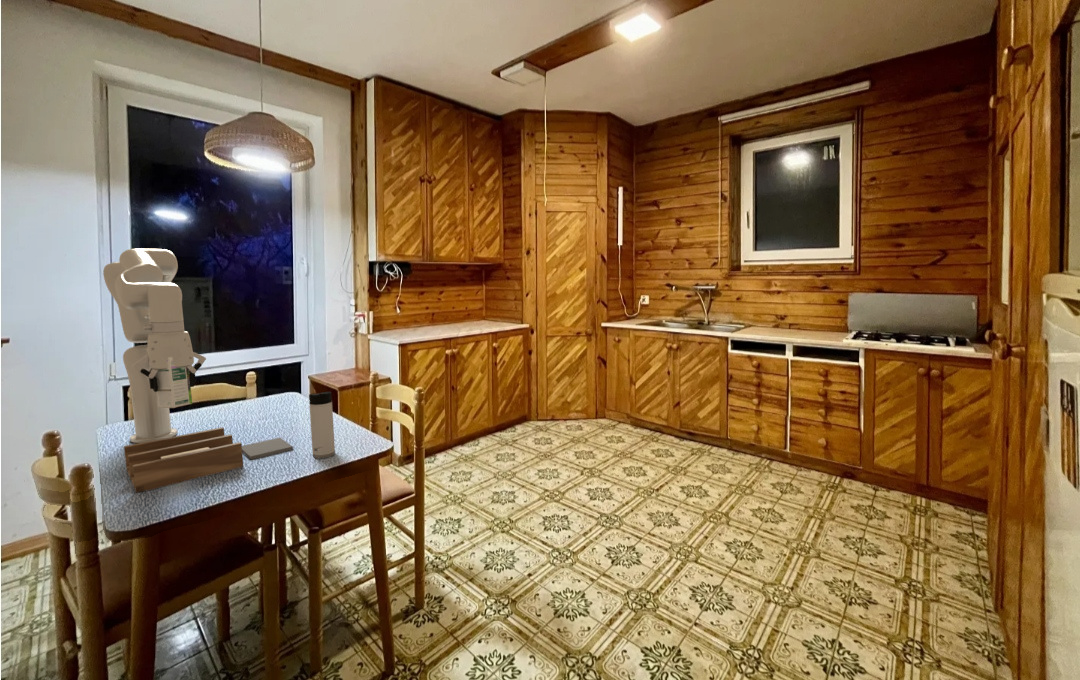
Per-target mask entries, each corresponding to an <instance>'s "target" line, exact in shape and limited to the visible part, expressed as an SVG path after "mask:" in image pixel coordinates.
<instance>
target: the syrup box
mask: <svg viewBox="0 0 1080 680" xmlns="http://www.w3.org/2000/svg"><path fill="white" fill-rule="evenodd" d="M172 359H173V358H172V357H168V359H167V367H168V368H167V369H161V370H158V371H157V373H156V374H155V377H156V378H157V386H158V391H157V397H158V406H159V407H161V408H169V409H175V408H178V407H183V406H187V405H192V404H193V397H192V396H193V395H192V387H191V386H190V376H189V369H188V368H187V367H179V368H178V367H175V365H174V363H173V360H172Z"/></svg>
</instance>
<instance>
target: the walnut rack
mask: <svg viewBox="0 0 1080 680" xmlns="http://www.w3.org/2000/svg"><path fill="white" fill-rule="evenodd" d="M233 439H234V438H233V435H232V434H226V435H225V428H224V427H223V426H222V427H218V428H212V429H207V430H201V431H196V432H190V433H185V434H181V435H175V436H173V437H169V438H164V439H159V440H154V441H148V442H143V443H133V444H129V445H124V446H123V450H124V451H123V453H124V458H125V459H124V460H125V466H126V467H125V468H126V469H125V470H126V472H127V474H128V476H129V479H130V480H131V484H132V486H133V489H134V488H135V489H134V491H135V493H136V492H139V493H142V492H141V491H143V492H146V490H147V491H152V490H154V489H159V488H163V487H168V486H172V485H176V484H179V483H183V482H187V481H192V480H195V478H196V479H200V478H204V477H207V476H211V475H215V474H220V473H223V472H228V471H231V470H236V469H239V468H243V467H244V458H243V457H244V456H243V453H242V446H243V444H242V442H240V441H238V442H234V441H233ZM206 447H209V448H210V449H206V450H201V451H196V452H192V453H187V454H182V455H178V456H173V457H168V458H164V459H161V457H162V456H167V455H172V454H177V453H182V452H187V451H191V450H196V449H201V448H206ZM203 476H204V477H203ZM199 477H200V478H199ZM191 479H192V480H191Z"/></svg>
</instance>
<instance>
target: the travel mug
mask: <svg viewBox="0 0 1080 680" xmlns="http://www.w3.org/2000/svg"><path fill="white" fill-rule="evenodd" d="M308 399H309V400H308V401H309V402H308V403H309V417H310V418H309V419H310V433H311V448H312V457H313V458H314V459H321V460H322V459H327V458H331V457H333V456H334V455H335V454H336V448H335V447H336V446H335V430H334V429H335V427H334V415H333V414H334V413H333V412H334V411H333V399H332V392H331V391H323V392H319V393H315V392H314V393H310V394H308Z"/></svg>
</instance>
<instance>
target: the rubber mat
mask: <svg viewBox="0 0 1080 680" xmlns="http://www.w3.org/2000/svg"><path fill="white" fill-rule="evenodd" d="M292 449H293V450H294V447H293V445H291V444H290V443H288V442H287V441H286V440H284V439H283V438H281V437H275V438H272V439H267V440H263V441H258V442H254V443H249V444H244V445H242V454H243V455H245V457H247V458H248V459H249V460H255V459H260V458H263V457H267V456H271V455H276V454H280V453H283V452H288V450H289V451H293V450H292Z"/></svg>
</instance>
